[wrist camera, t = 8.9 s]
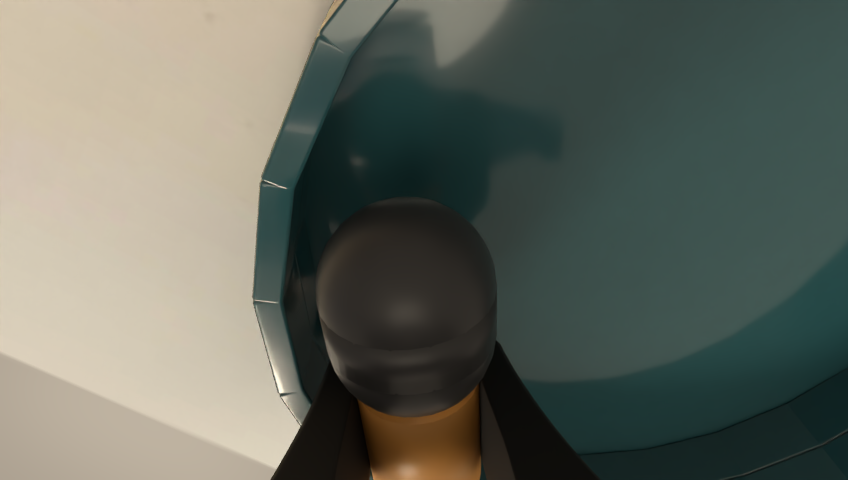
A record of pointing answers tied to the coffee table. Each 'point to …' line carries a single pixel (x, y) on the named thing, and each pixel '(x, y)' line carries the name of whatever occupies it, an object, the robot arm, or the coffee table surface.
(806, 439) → the bowl
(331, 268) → the microphone
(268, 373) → the coffee table surface
